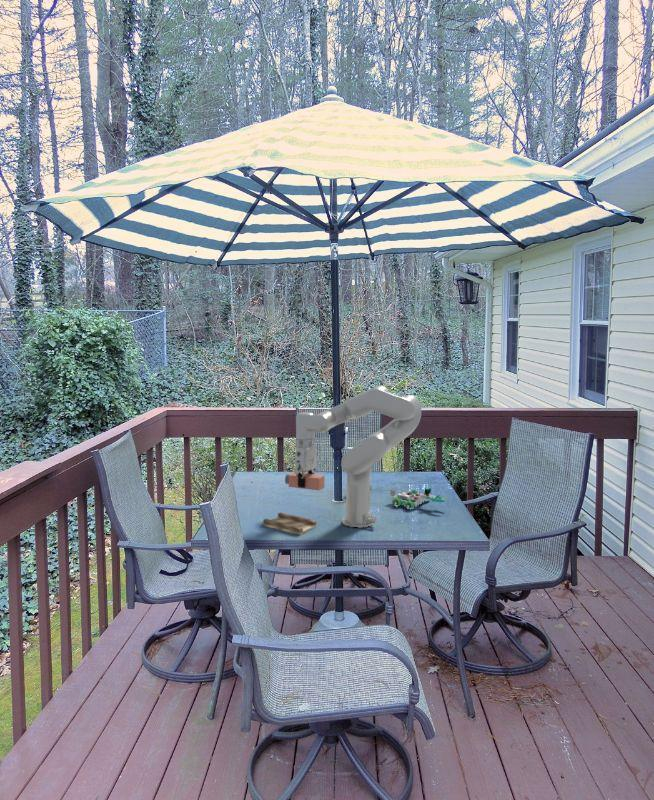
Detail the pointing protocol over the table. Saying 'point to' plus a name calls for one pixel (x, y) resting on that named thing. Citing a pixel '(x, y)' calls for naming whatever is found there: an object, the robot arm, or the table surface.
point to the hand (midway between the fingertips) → (305, 485)
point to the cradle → (290, 523)
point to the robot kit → (414, 497)
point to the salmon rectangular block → (306, 481)
